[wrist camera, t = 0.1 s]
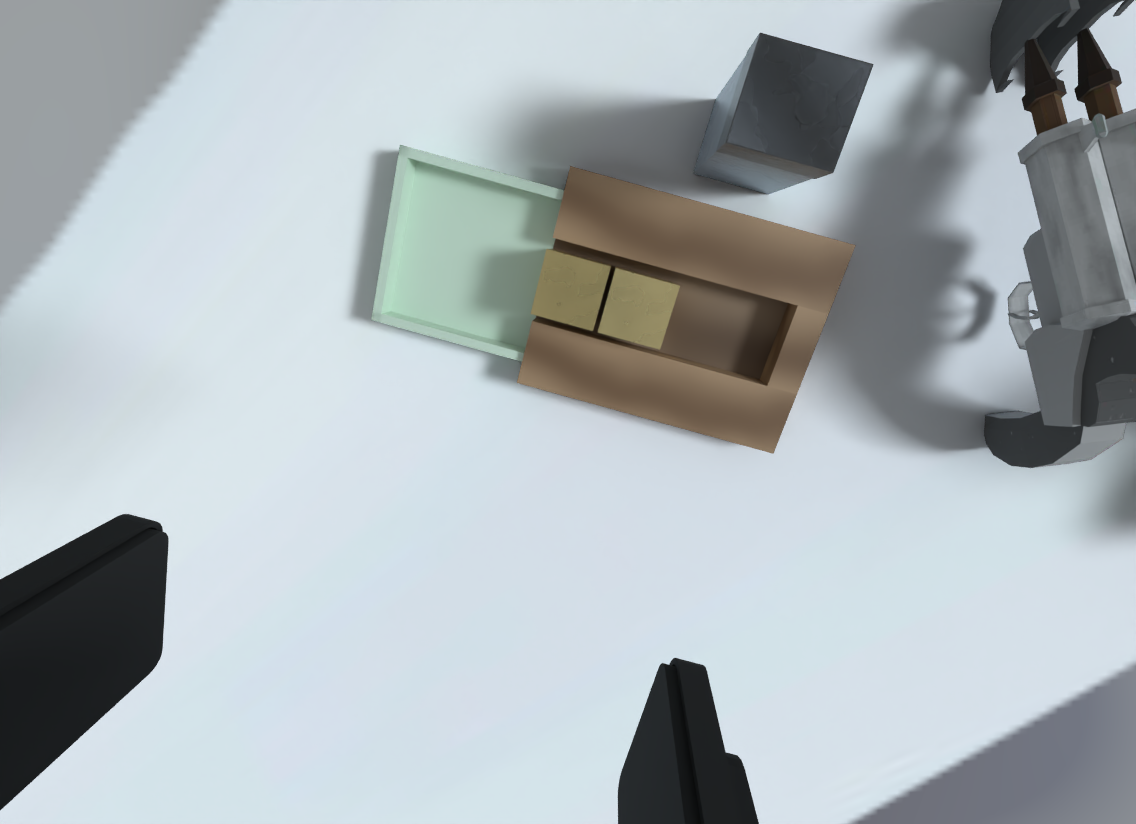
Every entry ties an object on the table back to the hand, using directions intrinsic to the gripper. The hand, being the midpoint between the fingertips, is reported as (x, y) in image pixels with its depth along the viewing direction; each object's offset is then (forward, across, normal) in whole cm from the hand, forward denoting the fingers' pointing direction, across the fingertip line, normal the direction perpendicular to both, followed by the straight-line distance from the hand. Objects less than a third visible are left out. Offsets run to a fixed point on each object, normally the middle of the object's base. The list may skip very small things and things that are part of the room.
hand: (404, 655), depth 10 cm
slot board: (+31, -7, -5) cm, 32 cm away
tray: (+31, +7, -5) cm, 32 cm away
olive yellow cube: (+31, -4, -5) cm, 31 cm away
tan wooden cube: (+31, 0, -5) cm, 31 cm away
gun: (+32, -26, -15) cm, 43 cm away
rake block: (+31, -8, -16) cm, 36 cm away
